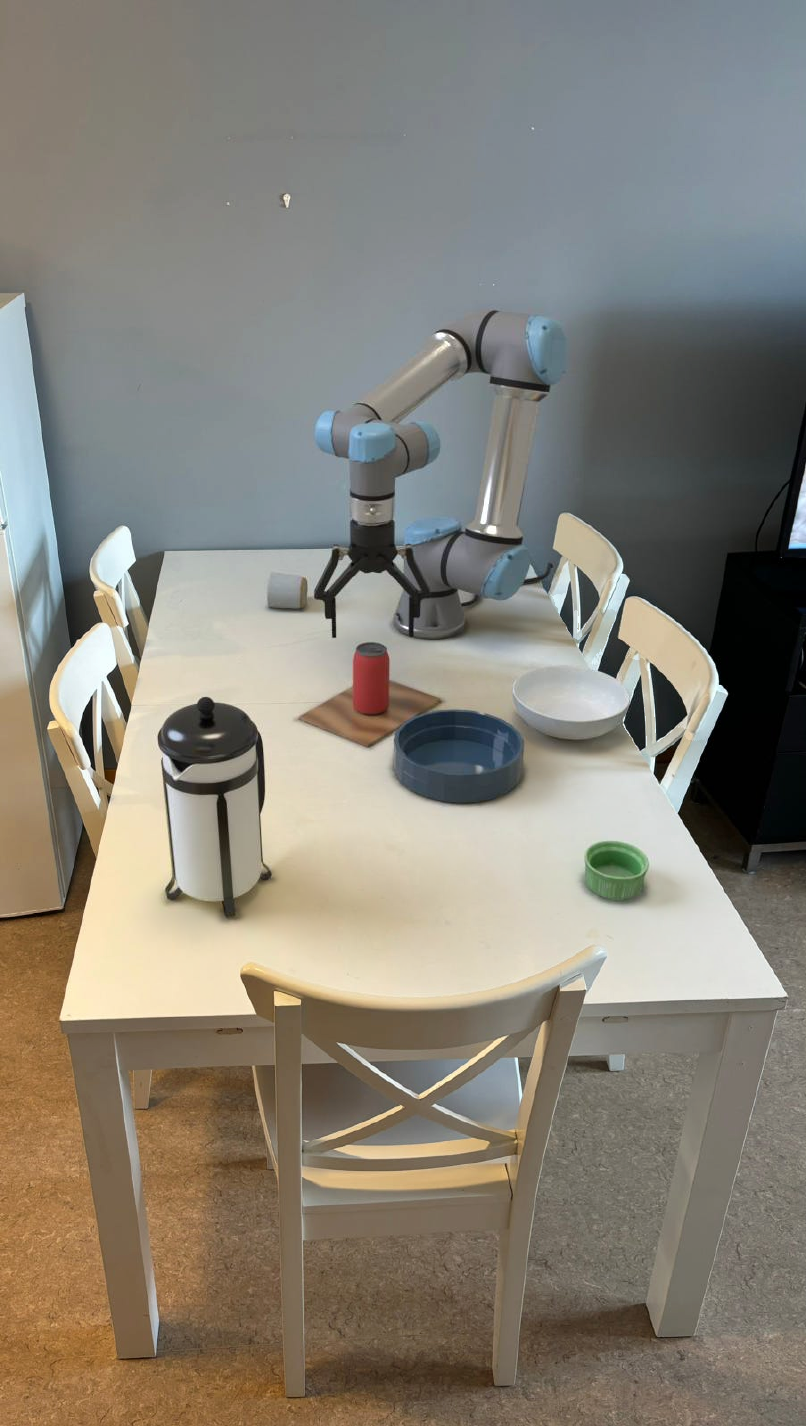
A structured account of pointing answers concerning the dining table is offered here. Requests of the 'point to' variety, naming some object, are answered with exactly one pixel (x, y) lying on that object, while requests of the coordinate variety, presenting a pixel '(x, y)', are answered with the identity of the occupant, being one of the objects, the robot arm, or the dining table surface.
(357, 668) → the beer can
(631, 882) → the ramekin
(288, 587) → the grey cylinder
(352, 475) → the robot arm
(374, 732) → the wooden cutting board
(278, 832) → the dining table surface
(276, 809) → the dining table surface
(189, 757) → the coffee press
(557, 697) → the serving bowl
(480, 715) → the blue bowl
